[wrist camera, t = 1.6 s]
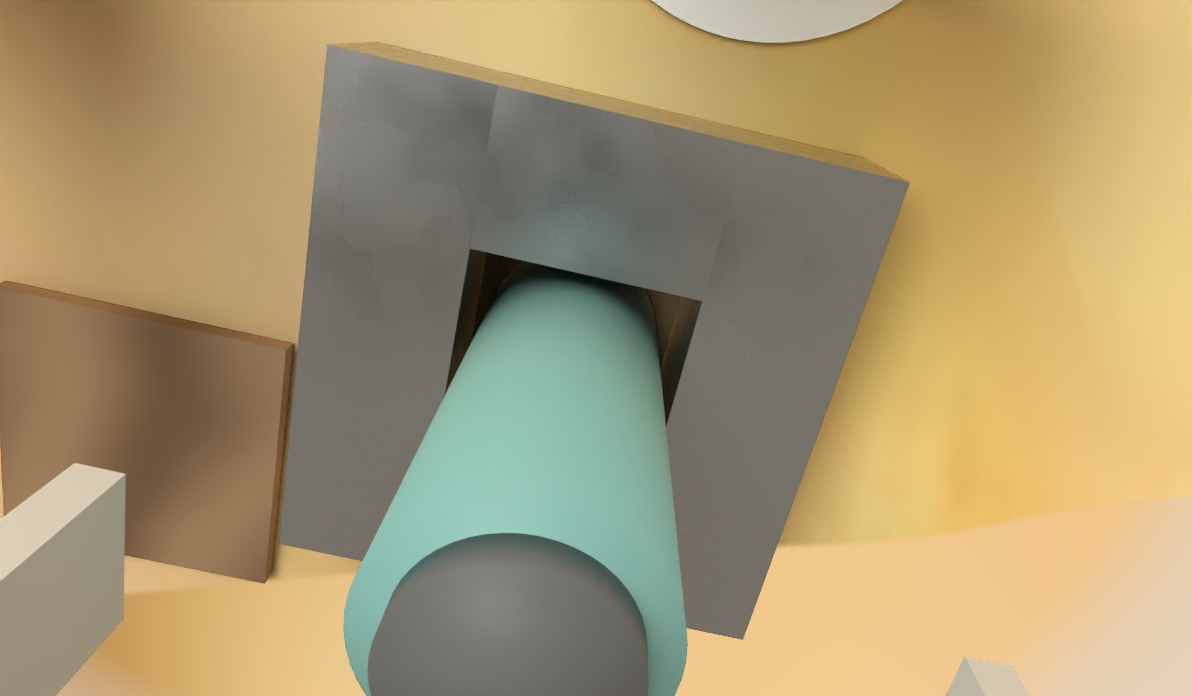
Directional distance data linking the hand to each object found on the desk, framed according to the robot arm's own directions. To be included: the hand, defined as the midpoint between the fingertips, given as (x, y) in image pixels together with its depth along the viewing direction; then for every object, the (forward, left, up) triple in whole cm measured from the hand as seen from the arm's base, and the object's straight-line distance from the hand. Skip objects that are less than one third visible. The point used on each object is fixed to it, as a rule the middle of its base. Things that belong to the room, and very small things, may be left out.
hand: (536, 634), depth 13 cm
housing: (0, 0, -14) cm, 14 cm away
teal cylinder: (0, 0, -14) cm, 14 cm away
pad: (-13, -7, -14) cm, 20 cm away
